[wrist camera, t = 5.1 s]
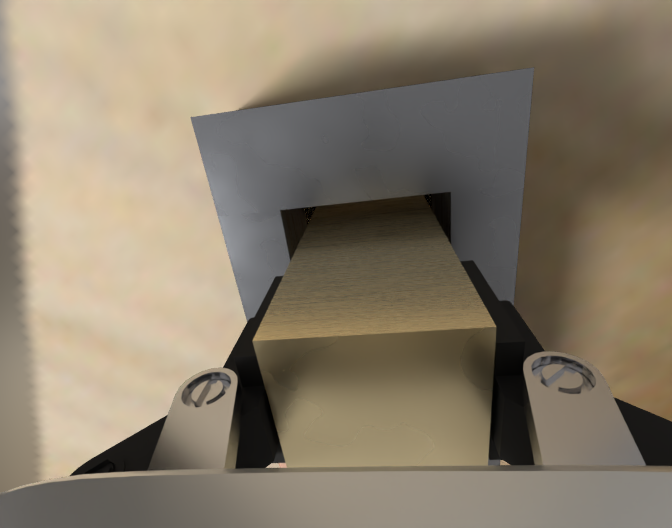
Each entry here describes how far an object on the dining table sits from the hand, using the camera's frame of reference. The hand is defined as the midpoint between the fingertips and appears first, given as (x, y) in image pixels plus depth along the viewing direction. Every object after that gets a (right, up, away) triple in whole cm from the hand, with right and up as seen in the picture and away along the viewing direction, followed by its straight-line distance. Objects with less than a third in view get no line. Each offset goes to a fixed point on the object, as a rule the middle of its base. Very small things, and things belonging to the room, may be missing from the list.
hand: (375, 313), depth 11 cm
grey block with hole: (+1, 0, +7) cm, 7 cm away
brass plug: (0, +2, +5) cm, 6 cm away
